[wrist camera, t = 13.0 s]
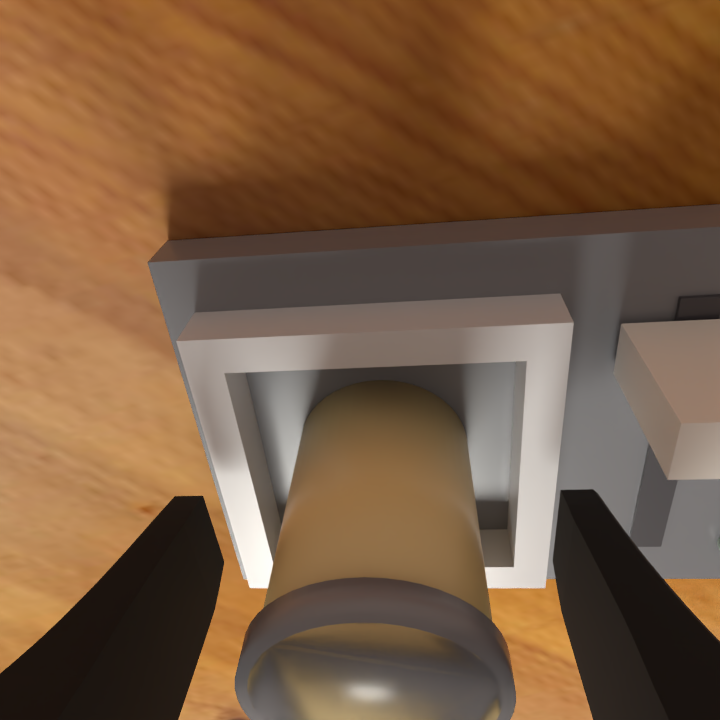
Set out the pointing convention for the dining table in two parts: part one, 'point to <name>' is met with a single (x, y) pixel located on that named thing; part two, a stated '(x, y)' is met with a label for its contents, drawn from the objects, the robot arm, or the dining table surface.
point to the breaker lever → (675, 392)
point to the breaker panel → (451, 365)
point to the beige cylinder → (378, 573)
